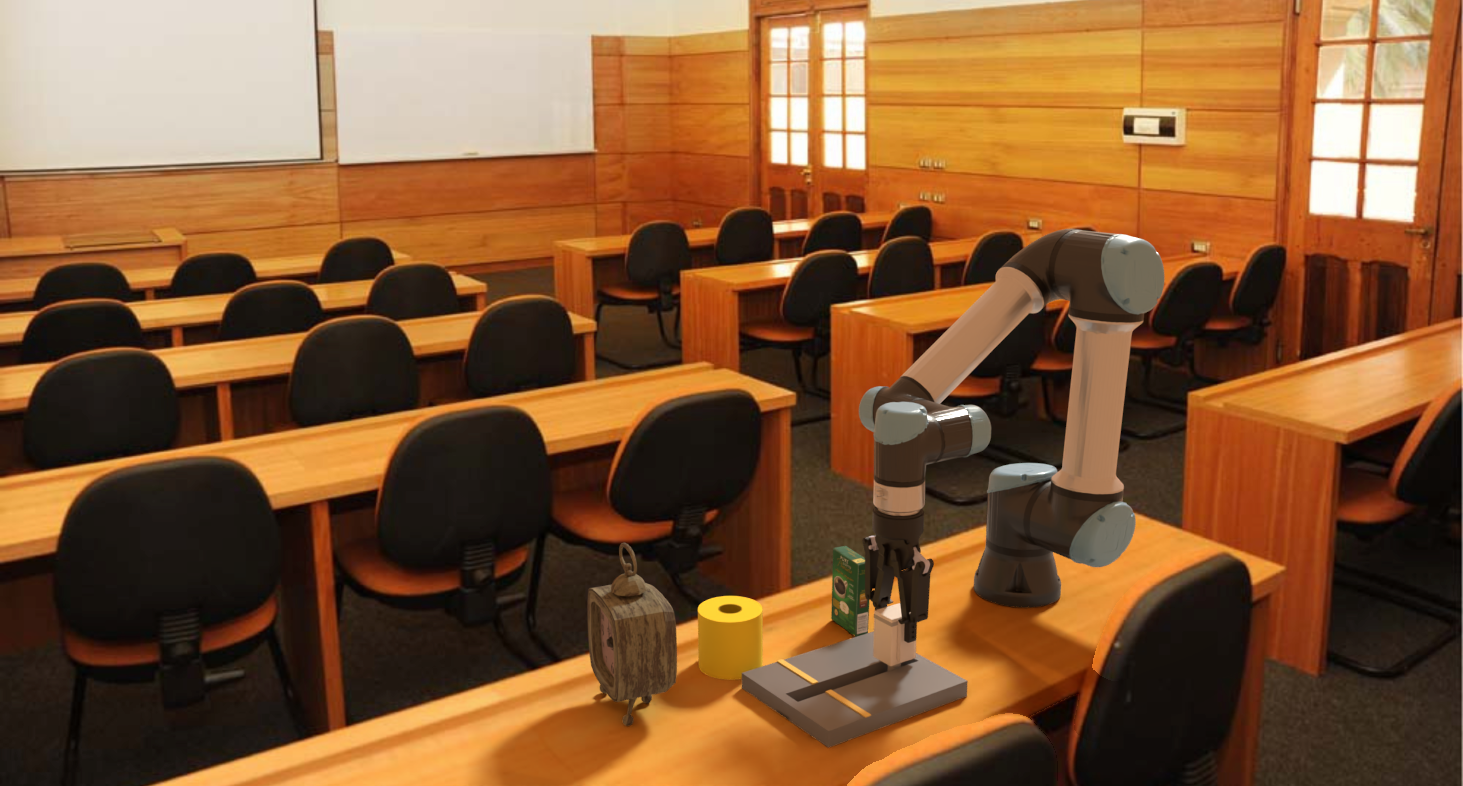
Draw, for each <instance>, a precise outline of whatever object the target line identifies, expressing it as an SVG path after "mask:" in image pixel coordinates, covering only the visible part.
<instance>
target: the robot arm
mask: <svg viewBox="0 0 1463 786" xmlns="http://www.w3.org/2000/svg"><path fill="white" fill-rule="evenodd" d="M1164 287H1165V269H1164V263H1163V261H1162V258H1161V255H1160V254H1159V252H1157V250H1156V248H1155V246H1154V245H1153V244H1152V243H1150V242H1149V241H1147V239H1146V240H1145V239H1143V238H1140V237H1139V238H1138V237H1135V236H1131V235H1128V234H1122V233H1111V232H1103V231H1102V232H1101V231H1091V230H1082V229H1079V228H1064V229H1059V230H1055V231H1053V232H1049V233H1047V234H1045V235H1043V236H1040V237H1039V238H1037V239H1036V240H1034V241H1032V242H1031V243H1029V244H1028V245H1026V246H1024V247H1023V248H1021V250H1019V251H1018V252H1017V253H1015V254H1014V255H1013V256H1012V257H1011V258H1009V259H1008V261H1006V262H1005V263H1004V264H1003V265H1001V267H1000V268H998V270H997V272H996V274H995V282H993V283H992V284H991V286H990V287H988V289H986V291H984V293H983V294H982V295H980V297H979V298H978V299H976V301H974V303H973V304H972V305H971V306H969V308H968V309H967V310H966V311H964V313H962V315H961V316H959V318H958V319H957V320H955V322H954V323H953V324H951V326H949V327H948V328H947V330H946V331H945V332H943V333H942V335H941V336H940V337H938V338H937V340H936V341H935V342H934V343H932V345H930V347H929V348H928V349H926V350H925V352H923V354H922V355H920V357H919V358H917V360H916V361H914V363H912V365H911V366H910V367H908V368H907V369H906V370H905V372H903V374H902V375H900V377H899V378H898V379H897V380H896V381H894V383H893V384H892V385H890V387H889V386H885V385H884V386H880V385H879V386H874V387H871V388H870V389H868V390H867V391H866V392H865V393H864V394H863V396H862V397H861V399H860V403H859V406H858V416H859V420H860V422H861V424H862V425H863V427H865V428H866V430H867V431H868V430H869V431H871V432H872V433H873V492H872V493H873V497H872V498H873V501H872V502H873V503H872V504H873V505H874V508H873V509H872V531H873V533H874V535H869V536H866V537H865V536H864V537H863V538H862V541H861V542H862V546H863V551H864V558H865V597H866V599H867V600H869V601H871V602H872V605H873V608H874V611H875V610H878V609H882V608H885V607H888V606H889V605H890V604H893V603H894V600H892V599H891V596H892V593H893V588H894V581H895V578H896V579H897V587H898V596H899V603H900V606H901V615H902V619H899V620H898V632H897V661H898V662H900V663H901V662H903V661H906V660H909V659H912V658H914V641H916V642H917V633H918V632H917V631H918V630H917V628H918V623H919V622H923V621H926V620H928V618H929V607H930V605H929V603H930V588H931V587H930V585H931V573H932V571H933V568H934V564H935V561H934V560H933V559H932V558H926V557H924V555H922V554H921V552H922V551H921V546H920V543H919V542H920V541H919V540H920V538H921V536H922V535H923V533H924V528H925V511H924V510H923V508H924V507H925V504H926V503H925V502H926V500H925V499H926V473H927V465H932V464H935V463H939V462H946V461H949V460H955V459H959V458H968V457H969V456H971V455H974V454H977V453H980V452H982V451H984V450H985V449H986V448H987V447H988V445H989V444H990V441H991V438H992V424H991V420H990V418H989V417H988V415H987V412H985V411H984V410H983V409H982V408H981V407H980V406H978V405H975V404H965V405H964V404H960V405H959V404H958V405H957V406H948V405H944V404H942V402H943V401H944V400H945V399H946V398H947V397H948V396H949V395H951V393H953V391H954V390H955V389H956V388H957V387H959V385H960V384H961V383H962V382H963V381H964V380H965V379H966V378H967V377H968V376H969V375H970V374H971V373H972V372H973V371H974V370H975V369H976V368H977V367H978V366H979V365H980V364H981V363H982V362H983V361H984V360H985V359H986V358H987V357H988V356H989V355H990V353H992V352H993V350H994V349H995V348H996V347H998V345H999V344H1001V342H1002V341H1003V340H1005V338H1006V337H1007V336H1008V335H1010V333H1011V332H1012V331H1013V330H1014V329H1016V327H1018V325H1020V323H1021V322H1022V321H1023V320H1024V319H1025V318H1026V317H1027V316H1028V315H1029V314H1037V313H1039V312H1041V311H1042V309H1044V308H1045V307H1046V305H1048V304H1049V303H1051V302H1054V301H1057V300H1064V301H1068V302H1069V303H1068V314H1067V316H1068V318H1069V319H1070V320H1071V321H1072V322H1073V323H1074V325H1075V328H1076V331H1075V341H1074V349H1073V359H1072V370H1071V379H1070V388H1069V397H1068V405H1067V406H1068V408H1067V416H1066V425H1065V426H1066V427H1065V436H1064V446H1063V454H1062V455H1063V456H1062V465H1061V466H1062V467H1061V469H1060V470H1059V471H1058V469H1057V467H1055V466H1054V465H1051V464H1046V463H1038V462H1022V463H1021V462H1019V463H1009V464H1006V465H1002V466H998V467H996V468H994V469H993V470H992V471H991V473H990V474H989V477H988V486H987V487H988V488H987V490H986V524H985V527H986V528H985V529H986V530H985V531H986V532H985V548H984V551H983V553H982V555H981V557H980V560H979V563H978V565H977V566H978V567H977V569H976V571H975V573H974V576H973V590H974V592H975V594H977V595H978V596H979V597H980V598H981V599H983V600H985V601H989V602H991V603H993V604H996V605H997V604H998V605H1000V606H1005V607H1013V608H1039V607H1044V606H1048V605H1051V604H1053V603H1055V602H1057V601H1058V600H1059V599H1060V597H1061V592H1062V582H1061V581H1062V580H1061V578H1060V576H1059V575H1058V569H1057V563H1056V559H1055V556H1054V554H1056V555H1059V556H1060V557H1061V556H1062V557H1065V558H1066V559H1068V560H1071V561H1073V562H1074V563H1076V564H1078V565H1079V564H1082V565H1086V566H1089V567H1091V568H1103V567H1106V566H1110V564H1113V563H1114V562H1115V561H1117V560H1118V559H1119V558H1120V557H1121V556H1122V554H1123V553H1124V552H1126V550H1127V548H1128V547H1129V545H1130V544H1131V541H1132V539H1133V537H1134V534H1135V531H1136V522H1137V521H1136V515H1135V512H1134V511H1133V508H1132V506H1130V505H1129V504H1127V502H1124V501H1123V500H1124V499H1123V498H1124V491H1125V490H1124V489H1125V486H1124V483H1123V481H1122V480H1120V479H1119V478H1118V477H1117V467H1118V466H1117V465H1118V457H1119V448H1120V441H1121V440H1120V439H1121V431H1122V425H1123V423H1122V422H1123V413H1124V406H1125V405H1124V404H1125V396H1126V387H1127V379H1128V368H1129V361H1130V355H1131V343H1132V335H1133V331H1134V330H1136V329H1137V328H1138V327H1139V326H1140V325H1142V324H1143V323H1144V318H1145V314H1146V313H1147V312H1150V311H1152V310H1153V309H1154V308H1155V307H1156V305H1157V304H1158V299H1160V298H1161V297H1162V294H1163V291H1164ZM910 612H911V613H910Z"/></svg>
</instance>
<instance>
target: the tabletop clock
mask: <svg viewBox="0 0 1463 786" xmlns="http://www.w3.org/2000/svg"><path fill="white" fill-rule="evenodd" d="M624 549H626V551H627V552H628V554H629V555H630V558H631V561H632V564H633V568H632V564H631V563H630V562H628V563H627V562H626V561H625V559H624V556H623V550H624ZM618 554H619V555H618V556H619V561H620V564H621V567H622V569H623V570H624V573H622V574H620V575H618V576H617V577H615V578H614V579H613V581H612V582H611V583H612V584H608V585H603V586H602V585H601V586H595V587H589V588H588V589H587V599H586V600H587V602H586V604H587V605H586V606H587V608H586V609H587V614H586V615H587V620H586V621H587V639H588V641H587V642H588V652H589V660H590V666H591V669H592V672H593V674H594V676H595V678H596V680H597V681H598V683H599V684H600V685H599V691H600V692H601V693H603V694H606V695H607V696H608V697H609V698H610V699H611V700H612V701H613V702H616V703H619V702H624V701H628V703H627V705H628V706H627V713H626V714H625V715H624V716H622V719H621V720H622V724H623V725H624V726H625V727H630V726H632V725H633V723H634V717H633V715H632V712H633V709H634V706H635V702H636V701H637V699H639V698H641V702H642V703H643V704H649V703H651V701H652V700H653V695H654V696H655V695H658V694H663V693H666V692H667V691H668V690H669V689H671V688H672V687H673V686H674V685H675V684H676V682H677V674H678V645H677V644H678V643H677V640H678V639H677V623H676V614H675V610H674V609H673V606H672V605H671V603H670V602H669V600H668V599H667V598H665V596H664V595H663V593H661V592H660V591H659V590H658V589H657V588H656V587H655V586H654V585H652V584H649V583H647V582H645V580H644V579H643V577H641V576H640V575H638V574H637V573H638V564H637V558H636V554H635V552H634V550H633V548H632V547H631V546H630V545H629V543H626V542H622V543H620V545H619V548H618ZM632 569H633V571H632Z"/></svg>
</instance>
